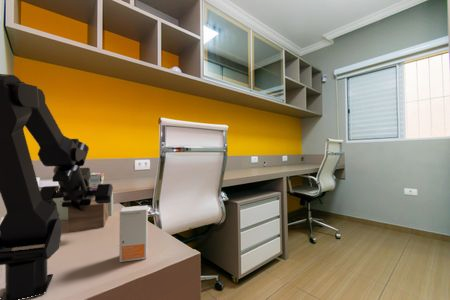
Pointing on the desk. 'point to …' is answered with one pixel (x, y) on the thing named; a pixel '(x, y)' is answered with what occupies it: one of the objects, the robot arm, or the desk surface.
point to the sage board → (64, 210)
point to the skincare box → (133, 233)
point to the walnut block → (88, 217)
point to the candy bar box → (96, 180)
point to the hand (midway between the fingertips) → (83, 209)
